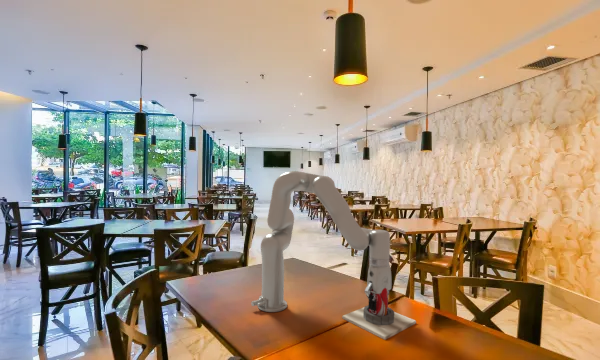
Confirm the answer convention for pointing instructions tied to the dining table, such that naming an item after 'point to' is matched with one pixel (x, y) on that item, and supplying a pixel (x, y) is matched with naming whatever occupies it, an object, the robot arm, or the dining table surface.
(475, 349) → the dining table surface
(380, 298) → the soda can
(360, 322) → the socket board
